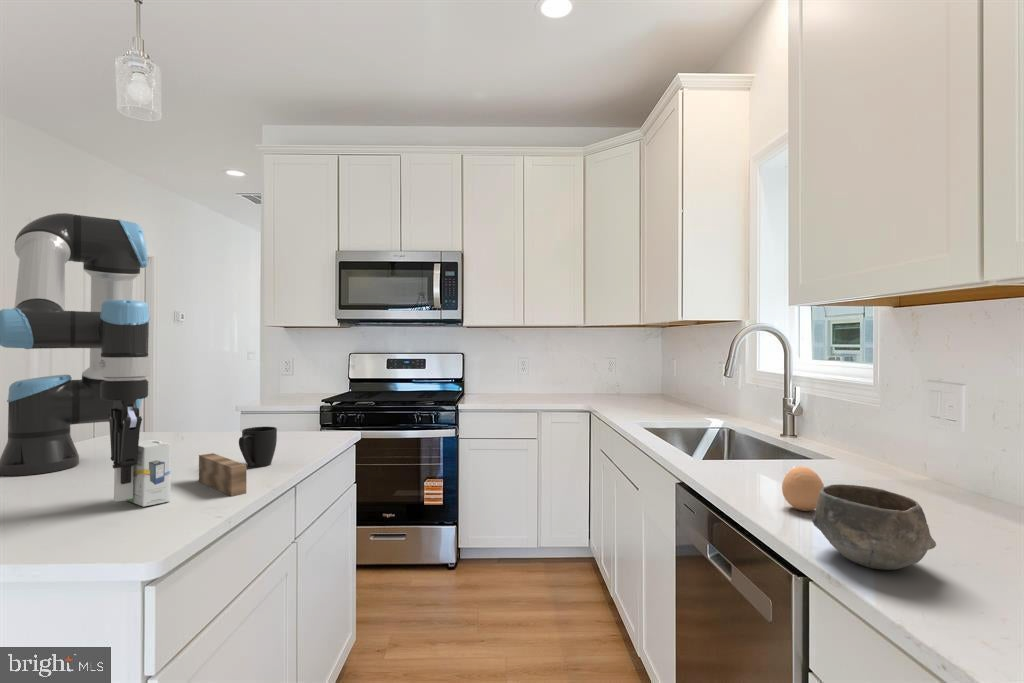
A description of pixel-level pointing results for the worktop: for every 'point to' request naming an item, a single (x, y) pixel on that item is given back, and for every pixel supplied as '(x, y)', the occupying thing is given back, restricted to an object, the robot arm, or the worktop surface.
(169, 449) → the ink box
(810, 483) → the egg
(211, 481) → the wooden block
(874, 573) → the worktop surface
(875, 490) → the bowl
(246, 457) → the mug
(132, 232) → the robot arm
